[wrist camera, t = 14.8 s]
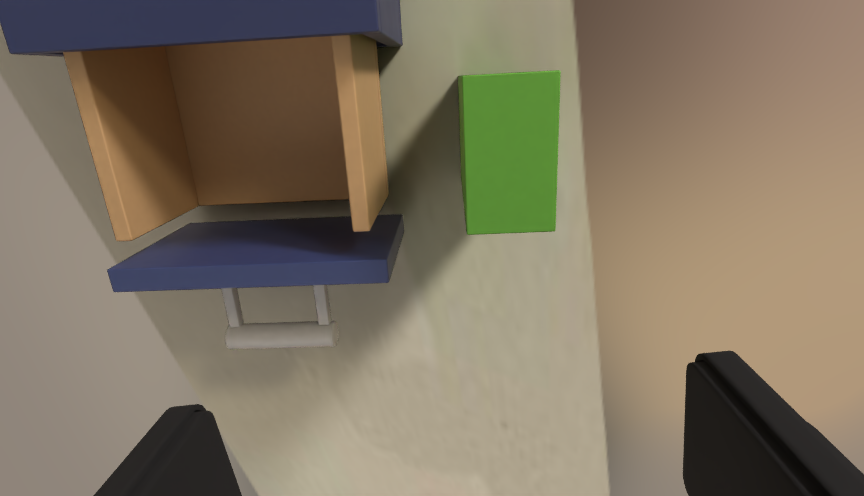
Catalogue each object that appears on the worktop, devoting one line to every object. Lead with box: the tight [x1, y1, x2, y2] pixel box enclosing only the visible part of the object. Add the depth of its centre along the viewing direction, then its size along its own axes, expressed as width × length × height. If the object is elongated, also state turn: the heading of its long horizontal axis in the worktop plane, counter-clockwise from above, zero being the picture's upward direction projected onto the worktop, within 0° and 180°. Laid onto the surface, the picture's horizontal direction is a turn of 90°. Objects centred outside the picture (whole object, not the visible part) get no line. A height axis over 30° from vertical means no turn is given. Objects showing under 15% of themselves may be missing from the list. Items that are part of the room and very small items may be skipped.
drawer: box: [63, 34, 404, 349], centre depth 25 cm, size 18×13×8 cm
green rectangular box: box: [458, 70, 560, 235], centre depth 23 cm, size 4×6×11 cm, turn 3°
